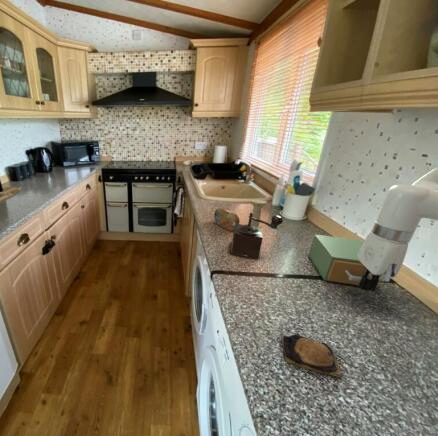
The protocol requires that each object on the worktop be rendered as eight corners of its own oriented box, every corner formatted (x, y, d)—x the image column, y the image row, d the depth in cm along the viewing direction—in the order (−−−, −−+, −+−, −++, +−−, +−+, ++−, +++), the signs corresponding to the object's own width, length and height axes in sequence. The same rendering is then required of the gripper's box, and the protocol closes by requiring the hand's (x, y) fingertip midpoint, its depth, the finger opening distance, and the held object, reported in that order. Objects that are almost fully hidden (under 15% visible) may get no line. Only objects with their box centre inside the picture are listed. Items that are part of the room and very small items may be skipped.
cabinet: (376, 288, 77) (387, 264, 74) (324, 280, 81) (332, 256, 77) (351, 260, 92) (360, 239, 88) (308, 255, 96) (314, 234, 92)
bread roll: (330, 347, 57) (335, 336, 56) (342, 381, 50) (348, 369, 48) (280, 334, 61) (283, 323, 59) (285, 363, 53) (289, 351, 52)
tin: (213, 221, 125) (214, 206, 122) (217, 220, 126) (219, 205, 123) (233, 233, 113) (236, 216, 109) (239, 232, 114) (241, 215, 111)
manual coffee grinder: (230, 255, 95) (237, 212, 88) (231, 242, 104) (237, 203, 97) (273, 263, 90) (285, 218, 83) (270, 249, 100) (280, 208, 92)
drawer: (386, 298, 72) (396, 277, 69) (334, 289, 75) (341, 270, 72) (353, 261, 90) (360, 244, 87) (312, 256, 93) (318, 239, 90)
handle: (245, 228, 118) (250, 199, 112) (259, 230, 116) (265, 200, 110) (246, 232, 114) (251, 202, 108) (260, 234, 112) (267, 203, 106)
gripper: (359, 219, 71) (339, 271, 78) (392, 243, 58) (364, 303, 65) (390, 222, 69) (367, 275, 76) (431, 248, 56) (398, 309, 63)
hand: (366, 288), depth 71 cm, fingers closed
